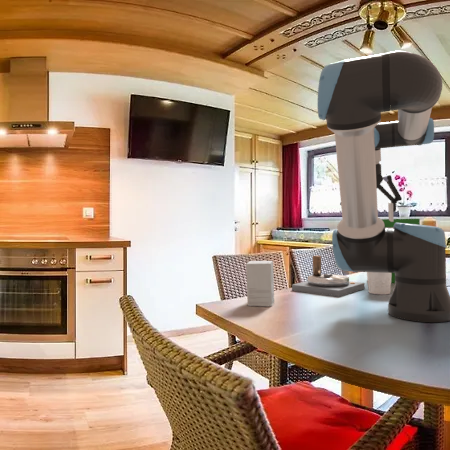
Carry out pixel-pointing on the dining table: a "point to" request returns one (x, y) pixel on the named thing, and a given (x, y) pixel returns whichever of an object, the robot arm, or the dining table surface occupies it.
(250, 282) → the supplement box
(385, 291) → the white cup
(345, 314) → the dining table surface
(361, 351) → the dining table surface
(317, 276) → the capstan dial
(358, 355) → the dining table surface
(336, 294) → the dial base
